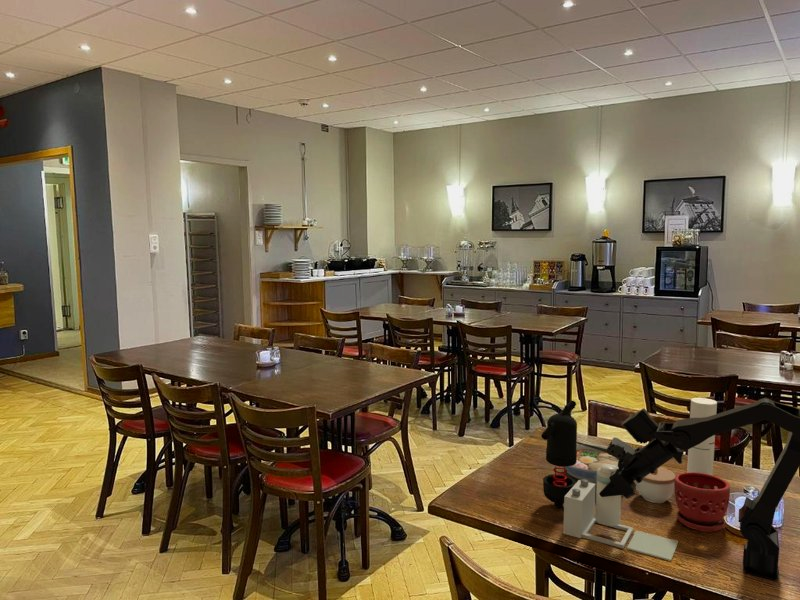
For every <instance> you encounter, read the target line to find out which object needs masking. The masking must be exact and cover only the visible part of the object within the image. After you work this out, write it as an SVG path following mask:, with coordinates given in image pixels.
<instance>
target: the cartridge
mask: <svg viewBox="0 0 800 600" xmlns="http://www.w3.org/2000/svg"><path fill="white" fill-rule="evenodd" d="M617 469H619V468H618V467H617V466H615V465H610V464H604V465H601V467H600V468H598V469H597V477H596V479H597V484H596V489H595V518H596V521H597V522H599V523H601V524H600V525H604V526H606V525H608V526H607V527H610V526H615V525H618V524H621V512H622V495H618V496H608V497H601V496H600V495H599V493H600V492H601V491H602V490H603V489H604V487H605V486H606V485H607V484H608V483H609V482H610V478H609V477H610V475H611V473H612V472H614V471H615V470H617ZM599 523H598V524H599Z"/></svg>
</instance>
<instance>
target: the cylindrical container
mask: <svg viewBox="0 0 800 600" xmlns="http://www.w3.org/2000/svg"><path fill="white" fill-rule="evenodd" d="M717 408H718V401H716V400H714V399H710V398H705V397H693V398H691V399H690V412H689V413H690V415H689V418H704V417H709V416H712V415H715V414H717ZM715 440H716V435H714V436H712V437H710V438H708V439H706V440H705V441H703V442H702V443H700V444H698V445H696V446H694V447H692V448H690V449H688V450H687V467H686V470H687V471H686V473H687V472H696V473H704V474H709V475H713V474H714V459H715V443H716V441H715ZM713 476H714V475H713Z"/></svg>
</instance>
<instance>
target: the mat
mask: <svg viewBox="0 0 800 600" xmlns="http://www.w3.org/2000/svg"><path fill="white" fill-rule="evenodd" d="M678 544H679V541H678V540H674V539H672V538H671V539H670V538H668V537H663V536H659V535H656V534H652V533H649V532H648V533H647V532H644V531H640V530H635V532H634V534H633V536H632V537H631V539H630V541H629V543H628V545H627V547H626V550H629V551H633V552H636V553H640V554H644V555H647V556H650V557H655V558H657V559H660V560H661V559H662V560H665V561H669V562H672V561H673V560H672V559H673V557H674V555H675V552H676V549H677V547H678Z"/></svg>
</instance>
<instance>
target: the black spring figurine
mask: <svg viewBox="0 0 800 600" xmlns="http://www.w3.org/2000/svg"><path fill="white" fill-rule="evenodd" d="M576 406H577V402H576V401H575V400H570V401H569V402H568V403H567V404H566V405H564V408H563V409H562V410H561V411H560V412H559V413H554V414H552V415H550V417H548V419H547V422H546V424H547V426H546V427H545V429H544V430H543V431H542V433H541V435H540V437H541V438H542V439H543V440H545V441H546V448H545V461H546V462H547V463H549V464H550V465H553V466H555V467H554V468H553V469H552V470H553V472H554V474H548V475H545V476H544V477H543V478H542V482H543V483H542V486H543V494H544V496H545V498H546V499H547V500H548V501H550V502H551V503H554V504H553V506H554V507H555V508H557V509H562V508H564V496H565V495H566V494H567V493H568V492H569V491H570V490H571V488H572V487H573V486H574V485H575V484H576V483H577V481H576V480H575V479H574V478H572V477H570V476H569V475H566V473H567V470H566V469H565V466H573V465H574V464H576V462H577V451H576V447H577V442H578V441H577V440H578V437H577V436H578V422H577V421H576V419H575V418H574V417H573V416H571V415H570V413H571V412H572V411H573V410H574V409H575V408H576ZM563 467H564V468H563ZM557 470H563V471H557Z"/></svg>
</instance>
